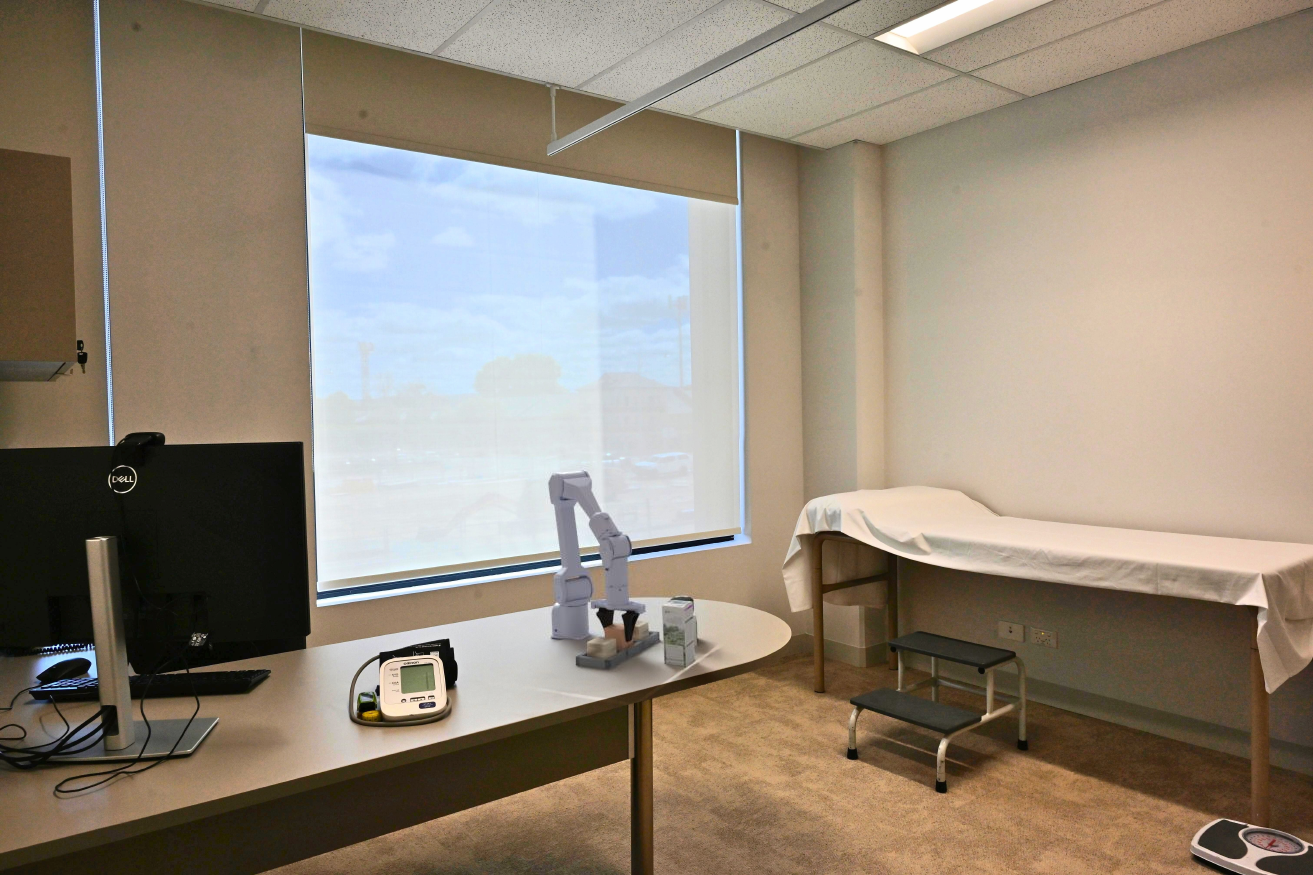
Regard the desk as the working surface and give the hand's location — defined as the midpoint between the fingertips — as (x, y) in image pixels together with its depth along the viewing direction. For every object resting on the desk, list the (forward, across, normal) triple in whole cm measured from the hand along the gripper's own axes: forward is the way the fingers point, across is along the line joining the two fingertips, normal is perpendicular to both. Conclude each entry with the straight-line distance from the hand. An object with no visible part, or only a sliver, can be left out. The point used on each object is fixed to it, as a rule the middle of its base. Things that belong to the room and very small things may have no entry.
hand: (619, 639), depth 200 cm
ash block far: (+3, 0, +8) cm, 9 cm away
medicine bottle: (+4, +11, +13) cm, 17 cm away
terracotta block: (+2, 0, 0) cm, 2 cm away
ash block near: (+3, 0, -8) cm, 9 cm away
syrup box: (+4, +17, -1) cm, 17 cm away
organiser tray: (+4, 0, 0) cm, 4 cm away
